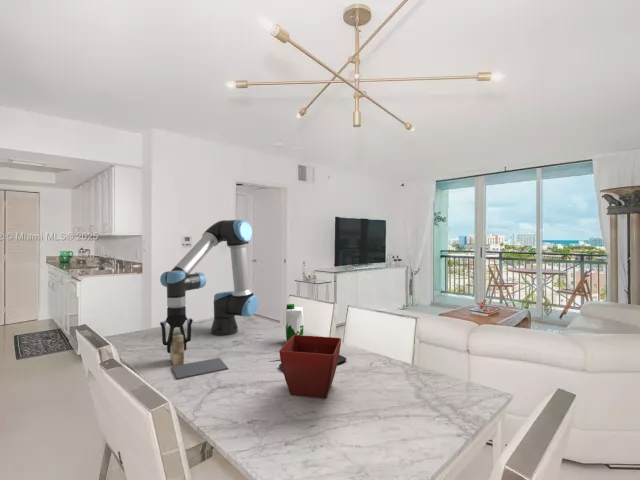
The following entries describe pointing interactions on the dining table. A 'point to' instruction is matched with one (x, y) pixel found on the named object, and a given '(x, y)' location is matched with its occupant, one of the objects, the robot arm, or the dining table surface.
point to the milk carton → (294, 321)
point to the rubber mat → (198, 368)
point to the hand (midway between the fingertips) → (176, 358)
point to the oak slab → (177, 348)
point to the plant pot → (310, 364)
